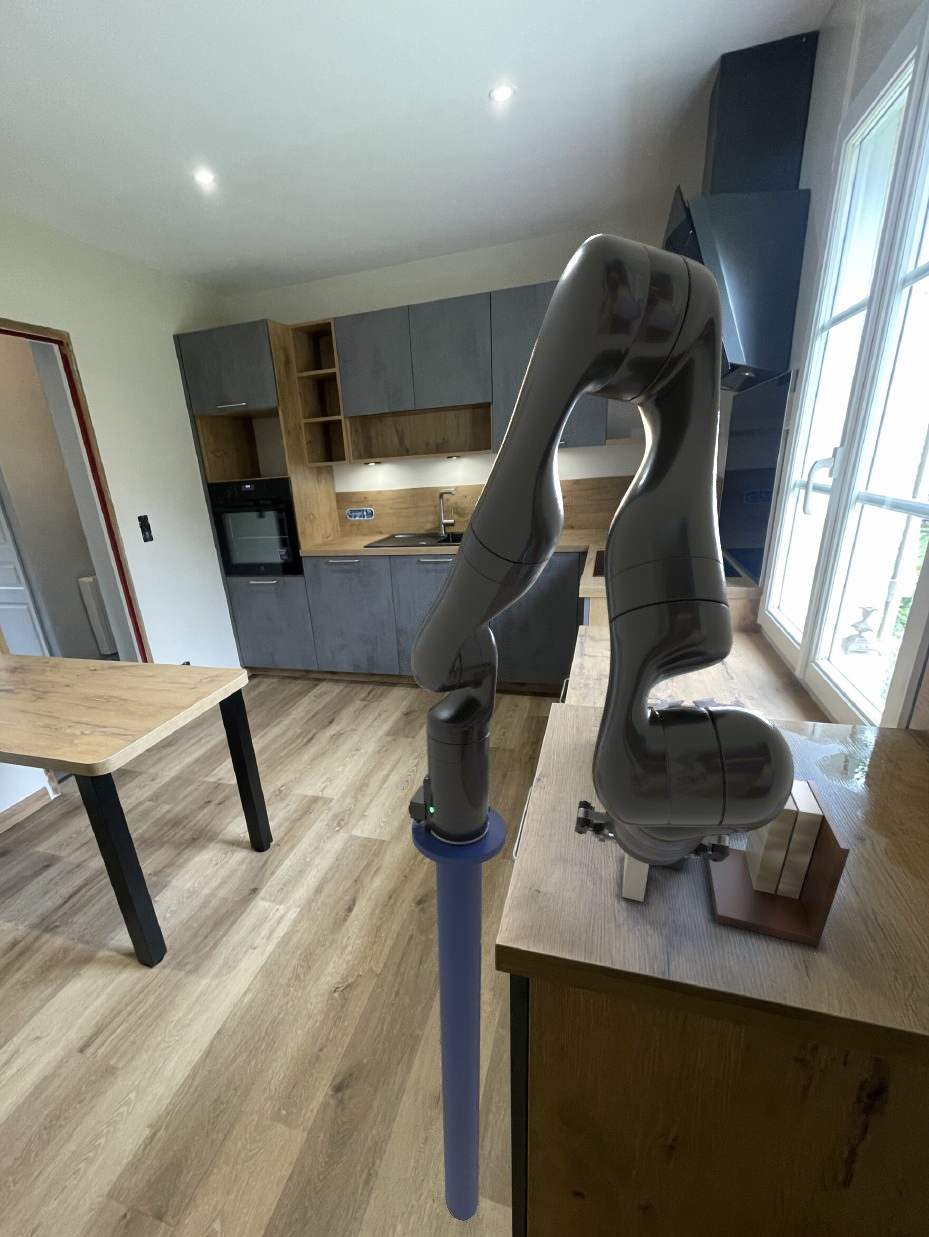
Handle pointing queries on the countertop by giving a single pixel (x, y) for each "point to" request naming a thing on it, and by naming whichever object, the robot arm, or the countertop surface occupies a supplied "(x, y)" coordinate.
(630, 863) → the ivory book
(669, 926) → the countertop surface
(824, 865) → the book stand
